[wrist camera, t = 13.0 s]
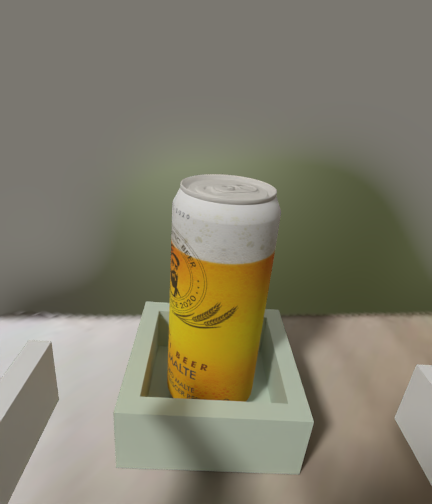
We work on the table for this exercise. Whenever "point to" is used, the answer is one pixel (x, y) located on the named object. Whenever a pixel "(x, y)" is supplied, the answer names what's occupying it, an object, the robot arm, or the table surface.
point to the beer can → (219, 284)
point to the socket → (211, 410)
